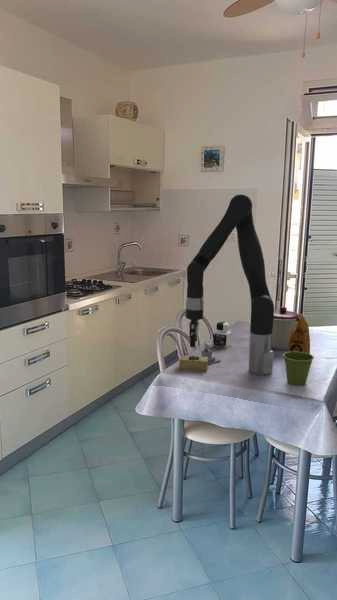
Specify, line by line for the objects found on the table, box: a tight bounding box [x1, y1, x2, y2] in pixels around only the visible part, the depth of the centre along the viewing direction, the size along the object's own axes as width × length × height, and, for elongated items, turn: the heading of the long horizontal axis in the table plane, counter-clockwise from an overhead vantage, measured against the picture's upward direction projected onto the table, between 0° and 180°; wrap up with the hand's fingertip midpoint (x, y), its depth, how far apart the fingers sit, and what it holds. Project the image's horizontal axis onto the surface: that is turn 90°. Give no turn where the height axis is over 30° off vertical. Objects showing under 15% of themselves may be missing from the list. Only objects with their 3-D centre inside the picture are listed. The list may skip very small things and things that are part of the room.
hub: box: [197, 342, 221, 366], centre depth 210 cm, size 9×9×8 cm
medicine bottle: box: [212, 321, 232, 349], centre depth 235 cm, size 7×7×12 cm
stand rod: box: [190, 354, 198, 360], centre depth 201 cm, size 2×2×5 cm
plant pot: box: [282, 351, 315, 386], centre depth 184 cm, size 12×12×11 cm
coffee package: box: [287, 313, 311, 354], centre depth 206 cm, size 10×12×22 cm
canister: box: [272, 306, 300, 351], centre depth 231 cm, size 18×18×21 cm
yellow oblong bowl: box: [178, 355, 209, 372], centre depth 201 cm, size 12×6×4 cm, turn 82°
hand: (193, 344), depth 200 cm, fingers open, 8 cm apart
